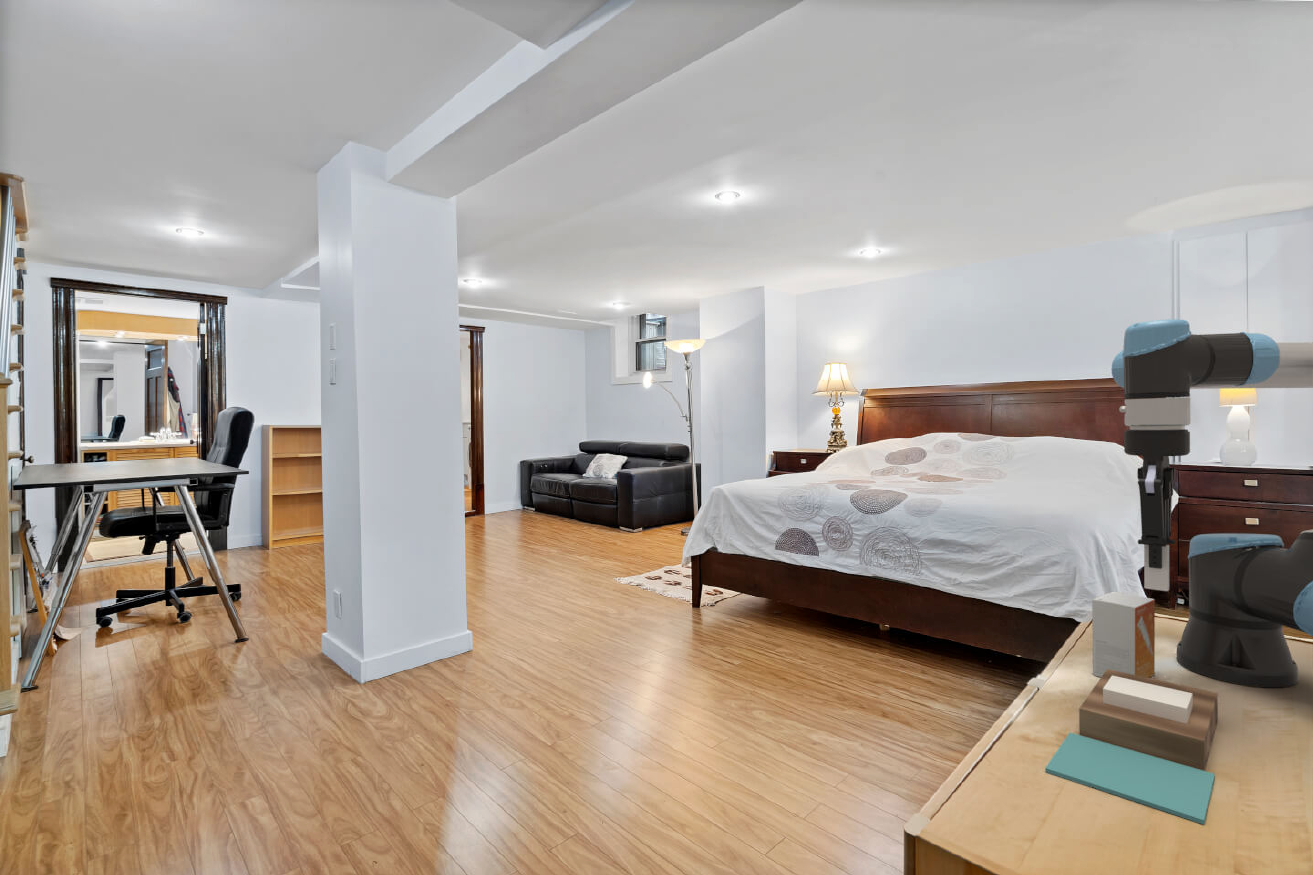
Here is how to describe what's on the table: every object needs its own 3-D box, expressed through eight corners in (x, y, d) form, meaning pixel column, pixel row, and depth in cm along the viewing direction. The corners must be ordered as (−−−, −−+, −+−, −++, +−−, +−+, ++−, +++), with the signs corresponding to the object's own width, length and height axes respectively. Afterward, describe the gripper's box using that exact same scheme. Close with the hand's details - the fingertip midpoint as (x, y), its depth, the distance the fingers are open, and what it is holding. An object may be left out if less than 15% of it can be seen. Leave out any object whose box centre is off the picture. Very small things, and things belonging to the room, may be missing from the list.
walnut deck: (1107, 693, 99) (1107, 668, 99) (1217, 720, 90) (1217, 692, 90) (1079, 736, 87) (1079, 708, 87) (1204, 772, 77) (1204, 740, 77)
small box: (1136, 688, 101) (1135, 607, 101) (1091, 675, 106) (1090, 598, 106) (1156, 675, 106) (1155, 598, 105) (1112, 663, 111) (1111, 590, 110)
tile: (1112, 688, 92) (1111, 675, 92) (1192, 707, 86) (1192, 693, 86) (1103, 702, 88) (1102, 688, 88) (1187, 723, 82) (1186, 708, 81)
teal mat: (1069, 735, 87) (1069, 732, 87) (1214, 777, 76) (1214, 773, 76) (1045, 771, 79) (1045, 767, 79) (1204, 824, 68) (1204, 820, 68)
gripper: (1132, 426, 99) (1133, 575, 100) (1115, 429, 90) (1116, 593, 91) (1195, 426, 94) (1195, 583, 95) (1183, 429, 85) (1184, 603, 85)
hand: (1156, 588), depth 93 cm, fingers closed
